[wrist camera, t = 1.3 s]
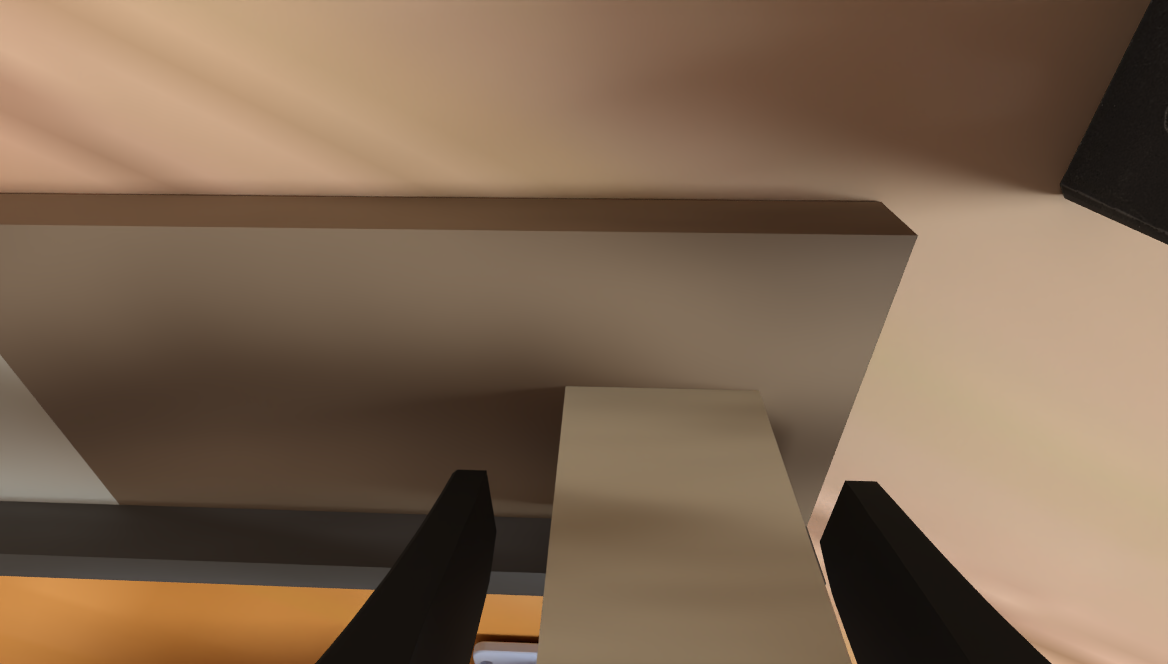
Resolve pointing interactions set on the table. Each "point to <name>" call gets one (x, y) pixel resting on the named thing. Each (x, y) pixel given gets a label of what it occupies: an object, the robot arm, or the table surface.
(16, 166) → the table surface
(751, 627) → the block
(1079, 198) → the ammunition clip
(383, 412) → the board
